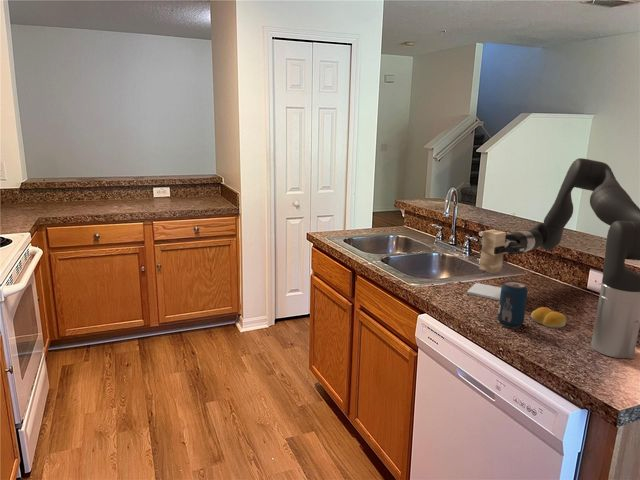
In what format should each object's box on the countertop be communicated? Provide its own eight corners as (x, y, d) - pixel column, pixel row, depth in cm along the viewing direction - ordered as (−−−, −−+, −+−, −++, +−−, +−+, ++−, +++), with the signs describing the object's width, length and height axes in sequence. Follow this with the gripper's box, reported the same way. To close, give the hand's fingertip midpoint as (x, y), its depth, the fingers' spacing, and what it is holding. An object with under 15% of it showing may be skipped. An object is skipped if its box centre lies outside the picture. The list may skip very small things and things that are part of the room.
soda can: (520, 320, 138) (525, 281, 135) (525, 330, 131) (531, 289, 128) (495, 317, 139) (500, 278, 136) (499, 327, 132) (504, 286, 130)
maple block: (501, 270, 158) (505, 232, 155) (492, 272, 155) (496, 234, 152) (488, 266, 162) (492, 229, 159) (479, 268, 159) (483, 231, 156)
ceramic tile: (508, 291, 162) (508, 289, 161) (500, 300, 153) (501, 298, 153) (475, 284, 167) (476, 282, 167) (466, 293, 159) (466, 291, 158)
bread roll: (556, 331, 131) (558, 317, 130) (526, 320, 138) (528, 307, 137) (572, 324, 136) (574, 311, 135) (542, 314, 143) (544, 302, 142)
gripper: (501, 227, 169) (470, 233, 160) (539, 236, 158) (508, 242, 148) (499, 248, 171) (468, 254, 162) (536, 257, 160) (505, 265, 150)
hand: (487, 249), depth 155 cm, fingers closed on maple block, 5 cm apart
